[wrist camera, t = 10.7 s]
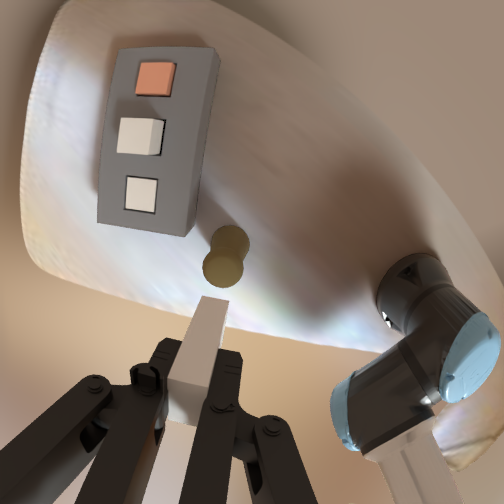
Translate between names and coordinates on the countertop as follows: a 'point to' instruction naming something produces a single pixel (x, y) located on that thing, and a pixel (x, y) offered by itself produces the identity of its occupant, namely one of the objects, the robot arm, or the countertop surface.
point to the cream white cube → (140, 136)
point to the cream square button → (141, 193)
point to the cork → (226, 257)
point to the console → (174, 144)
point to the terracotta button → (156, 79)
